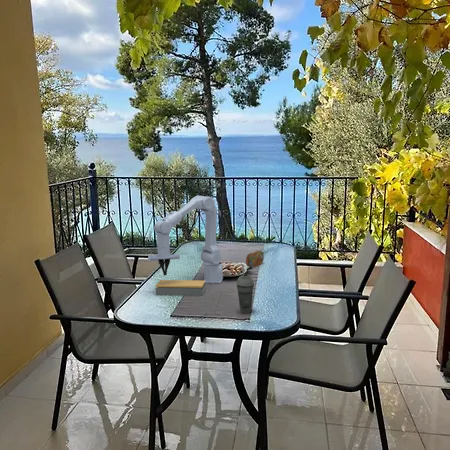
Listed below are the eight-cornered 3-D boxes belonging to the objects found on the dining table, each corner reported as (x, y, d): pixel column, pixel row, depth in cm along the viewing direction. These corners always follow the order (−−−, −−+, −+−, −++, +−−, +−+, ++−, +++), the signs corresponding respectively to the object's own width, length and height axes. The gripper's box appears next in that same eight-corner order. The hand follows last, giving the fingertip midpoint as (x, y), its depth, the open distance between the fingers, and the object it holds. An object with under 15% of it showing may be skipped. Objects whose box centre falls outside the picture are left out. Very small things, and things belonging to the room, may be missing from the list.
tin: (249, 269, 237) (249, 254, 235) (245, 268, 238) (244, 254, 237) (264, 263, 248) (264, 249, 247) (259, 262, 250) (259, 248, 249)
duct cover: (205, 282, 205) (205, 280, 205) (202, 287, 196) (202, 286, 196) (160, 281, 207) (160, 279, 207) (155, 287, 198) (155, 285, 198)
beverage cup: (249, 315, 172) (248, 267, 169) (233, 312, 176) (232, 265, 172) (257, 309, 178) (257, 263, 175) (242, 306, 182) (241, 261, 178)
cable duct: (205, 289, 205) (205, 282, 205) (202, 295, 196) (202, 288, 196) (160, 288, 208) (160, 281, 207) (155, 294, 199) (155, 287, 198)
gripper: (178, 243, 202) (180, 271, 205) (147, 245, 200) (149, 273, 203) (179, 247, 196) (180, 275, 198) (147, 249, 193) (149, 277, 196)
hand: (165, 274), depth 200 cm, fingers closed
